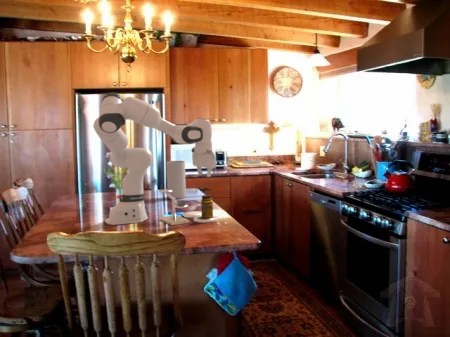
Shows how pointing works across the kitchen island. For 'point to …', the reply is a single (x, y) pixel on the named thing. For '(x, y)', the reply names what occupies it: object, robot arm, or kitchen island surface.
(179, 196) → the cylinder vase
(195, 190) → the kitchen island surface
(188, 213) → the far dish
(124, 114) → the robot arm
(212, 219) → the near dish
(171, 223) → the balance
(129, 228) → the kitchen island surface
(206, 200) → the condiment
